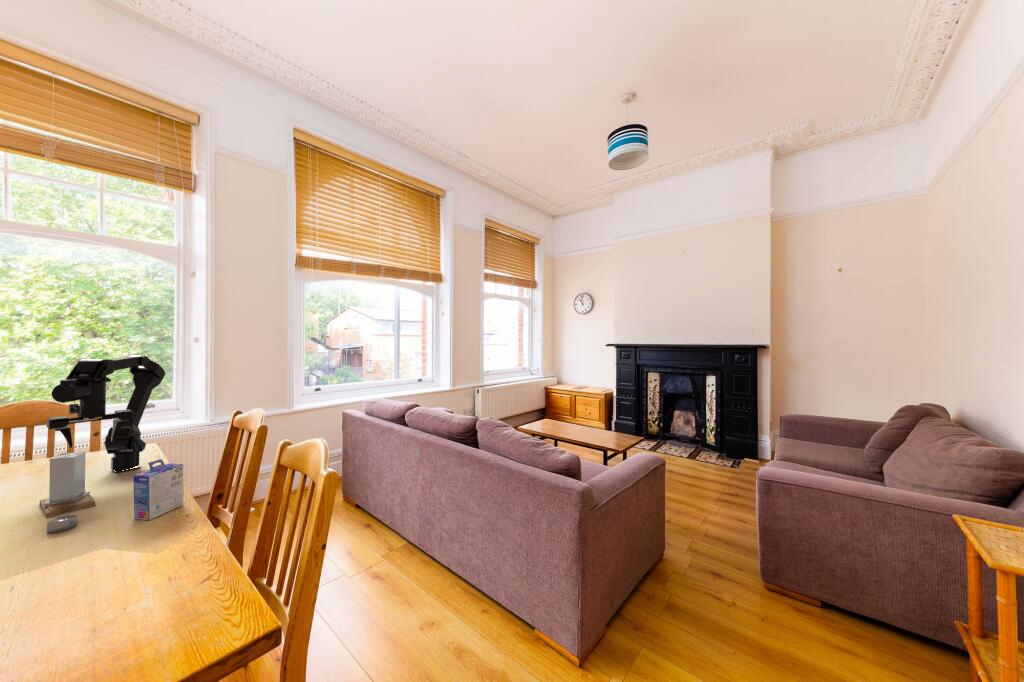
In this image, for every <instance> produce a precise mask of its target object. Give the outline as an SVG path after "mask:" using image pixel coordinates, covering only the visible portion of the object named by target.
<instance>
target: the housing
mask: <svg viewBox="0 0 1024 682" xmlns="http://www.w3.org/2000/svg"><path fill="white" fill-rule="evenodd" d="M86 453H87V452H86V451H78V452H64V453H63V452H62V453H59V454H57V455H55V456H53V457H51V458H49V486H48V487H49V489H48V490H49V491H48V492H49V495H48V496H49V497H48V498H49V501H47V502H45V503H44V504H43V506H51V505H60V504H69V503H76V502H78V501H79V500H81V499H82V498H84V497H86V496H87V495H89V494H90V493H91V491H90V490H87V491H86V492H85V490H86ZM90 495H91V494H90Z"/></svg>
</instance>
